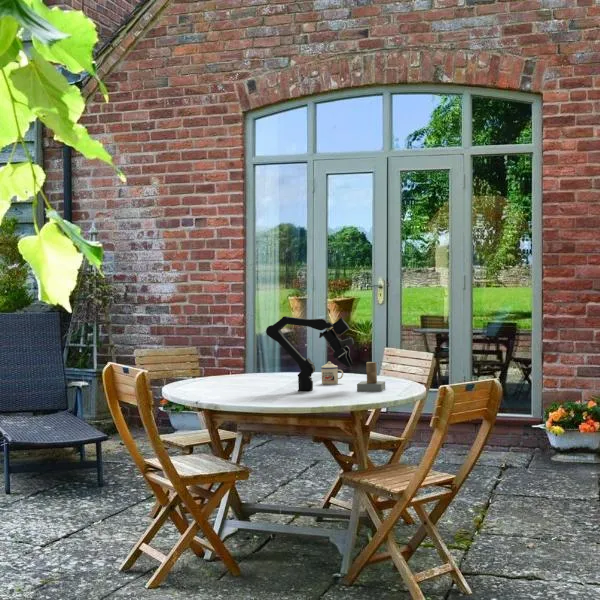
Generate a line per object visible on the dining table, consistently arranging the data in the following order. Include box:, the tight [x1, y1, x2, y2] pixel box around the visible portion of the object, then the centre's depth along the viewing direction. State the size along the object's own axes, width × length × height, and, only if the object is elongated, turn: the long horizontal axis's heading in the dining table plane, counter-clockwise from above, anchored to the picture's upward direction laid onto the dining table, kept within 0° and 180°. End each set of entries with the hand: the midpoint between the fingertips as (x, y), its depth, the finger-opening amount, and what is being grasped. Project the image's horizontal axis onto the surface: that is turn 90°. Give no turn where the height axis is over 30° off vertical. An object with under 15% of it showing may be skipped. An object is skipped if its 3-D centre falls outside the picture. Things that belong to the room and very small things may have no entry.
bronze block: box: [365, 361, 378, 383], centre depth 416 cm, size 4×4×10 cm
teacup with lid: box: [320, 361, 344, 385], centre depth 449 cm, size 12×9×12 cm
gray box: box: [356, 380, 386, 392], centre depth 416 cm, size 12×12×4 cm
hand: (351, 366), depth 417 cm, fingers open, 9 cm apart
